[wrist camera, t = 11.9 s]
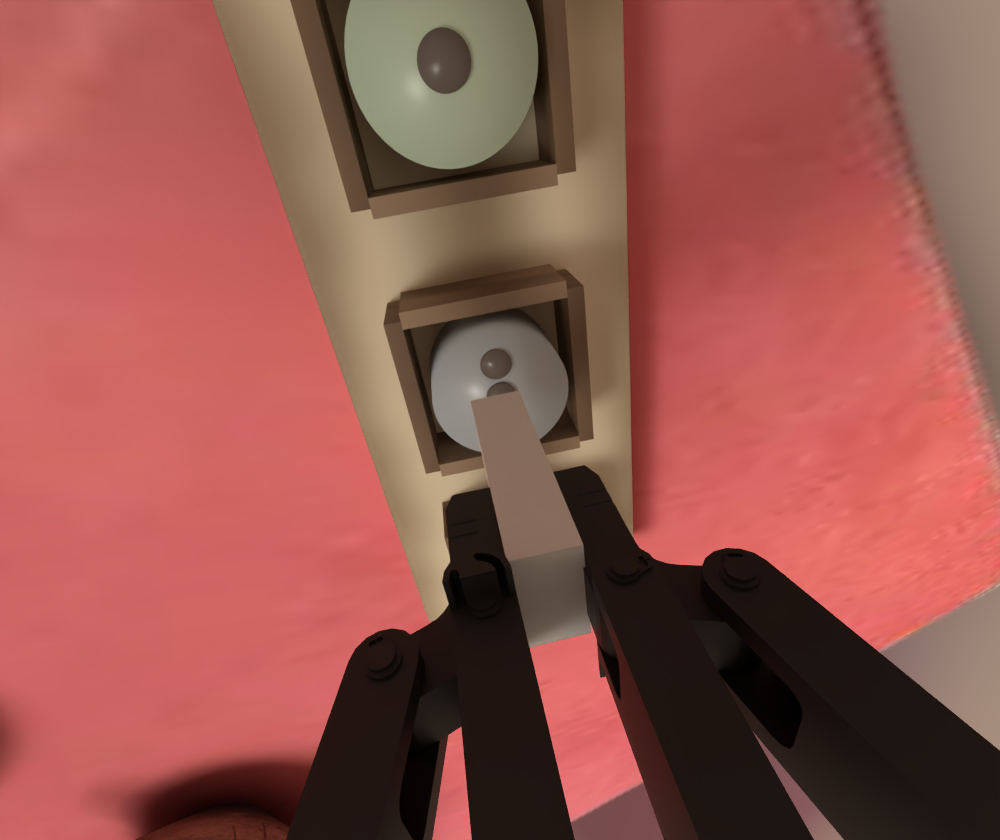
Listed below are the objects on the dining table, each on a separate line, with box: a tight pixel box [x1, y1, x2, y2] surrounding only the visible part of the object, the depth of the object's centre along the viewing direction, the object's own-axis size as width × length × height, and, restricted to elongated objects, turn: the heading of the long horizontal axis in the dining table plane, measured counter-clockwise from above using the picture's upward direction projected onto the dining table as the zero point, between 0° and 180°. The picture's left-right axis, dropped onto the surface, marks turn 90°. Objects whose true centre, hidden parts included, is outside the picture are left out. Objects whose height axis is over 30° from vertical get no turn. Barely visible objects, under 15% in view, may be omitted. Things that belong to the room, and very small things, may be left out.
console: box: [212, 0, 633, 621], centre depth 21 cm, size 12×30×6 cm, turn 9°
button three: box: [430, 308, 568, 452], centre depth 19 cm, size 5×5×3 cm
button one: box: [344, 0, 538, 169], centre depth 14 cm, size 5×5×3 cm
